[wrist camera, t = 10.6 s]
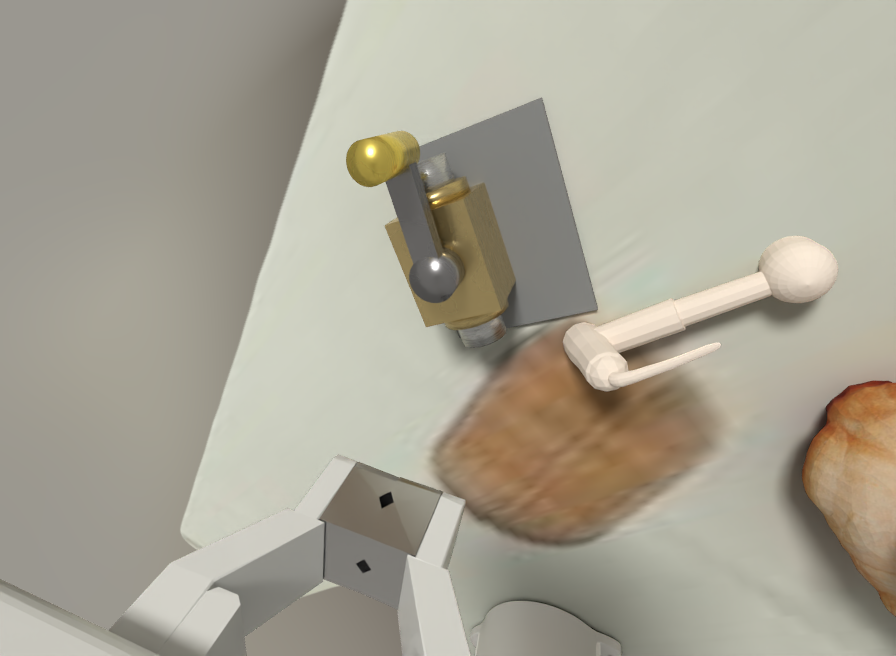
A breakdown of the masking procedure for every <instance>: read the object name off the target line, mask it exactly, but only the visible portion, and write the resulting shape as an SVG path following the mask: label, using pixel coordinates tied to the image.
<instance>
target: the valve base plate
mask: <svg viewBox="0 0 896 656" xmlns="http://www.w3.org/2000/svg"><path fill="white" fill-rule="evenodd" d="M444 152H446V155H447V158H448V161H449V164H450V167H451V170H452V173H453V176H454V178H455V179H456V178H459V177H463V176H466V178H467V181H468V184H469V187H472V186H475V185H478V184H481V183H485V186H486V189H487V192H488V195H489V198H490V201H491V204H492V207H493V210H494V214H495V217H496V220H497V223H498V226H499V229H500V232H501V235H502V238H503V241H504V244H505V247H506V251H507V254H508V257H509V260H510V263H511V266H512V269H513V272H514V275H515V278H516V281H515V283H514V285H513V287H512V289H511V291H510V293H509V295H508V297H507V300H508V303H509V306H508V308H507V309H506V311H505V312H504V313H502V314H501V315H502V318H503V321H504V324H505V326H506V328H510V327H515V326H520V325H525V324H530V323H535V322H540V321H545V320H549V319H554V318H559V317H564V316H569V315H574V314H579V313H584V312H589V311H594V310H598V307H597V303H596V300H595V296H594V292H593V288H592V285H591V281H590V277H589V273H588V269H587V266H586V262H585V258H584V254H583V251H582V247H581V243H580V239H579V235H578V232H577V228H576V224H575V220H574V217H573V213H572V209H571V205H570V202H569V198H568V194H567V190H566V186H565V183H564V179H563V175H562V171H561V168H560V164H559V160H558V156H557V152H556V149H555V145H554V141H553V137H552V134H551V130H550V126H549V122H548V118H547V115H546V111H545V107H544V103H543V100H542V98H539V99H537V100H534V101H532V102H529V103H527V104H524V105H522V106H519V107H517V108H514V109H512V110H509V111H507V112H505V113H502V114H500V115H497V116H495V117H492V118H490V119H487V120H485V121H482V122H480V123H477V124H475V125H472V126H470V127H467V128H465V129H462V130H460V131H457V132H455V133H452V134H450V135H447V136H445V137H442V138H440V139H437V140H435V141H432V142H430V143H427V144H425V145H422V146H420V159H419V162H421V161H423V160H426V159H428V158H431V157H434V156H436V155H439V154H442V153H444ZM457 332H458V335H459V337H460V338H461V336H460V333H459V330H457Z"/></svg>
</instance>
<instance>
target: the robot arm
mask: <svg viewBox="0 0 896 656" xmlns="http://www.w3.org/2000/svg"><path fill="white" fill-rule="evenodd" d="M465 503H466V500H464V499H461V498H458V497H455V496H452V495H450V494H447V493H444V492H442V491H439V490H436V489H434V488H431V487H428V486H425V485H422V484H419V483H416V482H413V481H410V480H407V479H404V478H401V477H400V478H399V477H396V476H394V475H391V474H389V473H386V472H383V471H381V470H378V469H376V468H373V467H371V466H368V465H365V464H363V463H360V462H357V461H355V460H352V459H349V458H346V457H344V456H341V455H337V456H335V457H334V458H333V459H332V460H331V461H330V462H329V464H328V465H327V466H326V468H325V469H324V470H323V472H322V473H321V474H320V476H319V477H318V478H317V480H316V481H315V482H314V484H313V485H312V487H311V488H310V489H309V491H308V492H307V493H306V495H305V496H304V497H303V499H302V500H301V501H300V503H299V504H298V505H297V507H296V508H295V509H294V510H292V509H289V508H287V509H284V510H282V511H280V512H278V513H276V514H274V515H272V516H269V517H267V518H265V519H263V520H261V521H259V522H257V523H255V524H252V525H250V526H248V527H246V528H244V529H242V530H240V531H237V532H235V533H233V534H231V535H229V536H227V537H225V538H222V539H220V540H218V541H216V542H214V543H212V544H210V545H208V546H205V547H203V548H201V549H199V550H197V551H195V552H193V553H191V554H188V555H186V556H184V557H182V558H180V559H178V560H175V561H173V562H171V563H170V564H169V565H168V566H167V567H166V568H165V569H164V570H163V572H162V573H161V574H160V575H159V576H158V577H157V578H156V579H155V580H154V581H153V582H152V584H151V585H150V586H149V587H148V588H147V589H146V590H145V591H144V592H143V593H142V594H141V596H140V597H139V598H138V599H137V600H136V601H135V602H134V603H133V604H132V605H131V607H129V609H128V610H127V611H126V612H125V613H124V614H123V615H122V616H121V617H120V618H119V619H118V620H117V622H116V623H115V624H114V625H113V626H112V627H111V628H110V629H109V630H106V629H104V628H102V627H100V626H98V625H95V624H93V623H91V622H89V621H87V620H85V619H83V618H81V617H79V616H77V615H75V614H73V613H70V612H68V611H66V610H64V609H62V608H60V607H58V606H56V605H54V604H51V603H50V602H47V601H45V600H43V599H41V598H39V597H37V596H35V595H33V594H31V593H29V592H26V591H24V590H22V589H20V588H18V587H16V586H14V585H12V584H10V583H8V582H6V581H4V580H2V579H0V656H247V655H246V647H245V638H244V637H245V636H247V635H248V634H249V633H251V632H252V631H254V630H255V629H257V628H258V627H259V626H261V625H262V624H264V623H265V622H266V621H268V620H269V619H271V618H272V617H274V616H275V615H276V614H278V613H279V612H281V611H282V610H283V609H285V608H286V607H288V606H289V605H291V604H292V603H293V602H295V601H296V600H297V599H299V598H300V597H302V596H303V595H305V594H306V593H307V592H309V591H310V590H312V589H313V588H315V587H316V586H317V585H319V584H320V583H322V582H323V579H324V580H327V581H330V582H332V583H335V584H338V585H340V586H343V587H346V588H348V589H351V590H354V591H357V592H359V593H361V594H364V595H366V596H368V597H370V598H373V599H375V600H377V601H379V602H382V603H384V604H386V605H388V606H390V607H393V608H395V609H397V610H398V619H399V628H400V637H401V646H402V655H403V656H471V654H470V650H469V647H468V643H467V639H466V635H465V631H464V627H463V623H462V619H461V615H460V611H459V607H458V603H457V599H456V595H455V591H454V587H453V583H452V579H451V575H450V571H449V570H447V569H448V566H449V563H450V560H451V556H452V553H453V549H454V546H455V542H456V539H457V535H458V531H459V527H460V523H461V519H462V515H463V511H464V508H465ZM470 641H471V643H472V644H473V645H474V646H475V648H476V652H475V656H622V648H621V644H620V643H619V642H618V641H616V640H615V639H613V638H611V637H609V636H606V635H604V634H601V633H599V632H596V631H595V630H593V629H592V628H590V627H589V626H587V625H586V624H585V623H584V622H582V621H581V620H579V619H578V618H576V617H575V616H573V615H571V614H569V613H567V612H565V611H563V610H561V609H558V608H556V607H553V606H550V605H546V604H543V603H538V602H531V601H511V602H505V603H502V604H499V605H497V606H495V607H493V608H492V609H491V610H490V611H489V612H488V613H487V615H486V617H485V619H484V621H483V622H482V624H479V625H477V626H475V627H474V628H473V629H472V630H471V633H470Z"/></svg>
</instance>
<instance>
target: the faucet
mask: <svg viewBox="0 0 896 656" xmlns="http://www.w3.org/2000/svg"><path fill="white" fill-rule="evenodd" d="M759 271H760V272H757V273H754V274H751V275H748V276H745V277H742V278H739V279H736V280H733V281H730V282H727V283H724V284H722V285H719V286H716V287H713V288H710V289H707V290H704V291H701V292H698V293H695V294H692V295H689V296H686V297H683V298H680V299H677V300H673V298H671V299H668V300H666V301H663V302H660V303H658V304H655V305H652V306H650V307H647V308H645V309H642V310H639V311H637V312H634V313H631V314H629V315H626V316H624V317H621V318H618V319H616V320H613V321H611V322H608V323H605V324H603V325H600V326H597V327H596V325H594V324H591V323H586V322H583V323H579V324H575V325H573V326H572V327H571V328H570V329H569V330H568V331H567V332H566V334H565V337H564V340H563V344H564V349H565V352H566V353H567V355H568V356H569V358H570V360H571V361H572V362H573V363H574V364H575V365H576V366H577V367H578V368H579V369H580V371H581V372H582V374H583V375H584V377H585V378H586V380H587V381H588V382H589V383H590V384H591V385H592V386H593V387H594V388H595V389H598V390H602V391H606V392H607V391H612V390H616V389H618V388H620V387H623V386H626V385H630V384H633V383H636V382H638V381H641V380H644V379H646V378H649V377H652V376H654V375H657V374H660V373H662V372H665V371H668V370H670V369H673V368H675V367H678V366H680V365H683V364H685V363H688V362H690V361H692V360H695V359H697V358H700V357H702V356H704V355H707V354H709V353H712V352H714V351H716V350H717V349H719V348H720V347H721V344H720V343H713V344H709V345H706V346H703V347H700V348H698V349H695V350H692V351H690V352H687V353H684V354H682V355H679V356H676V357H674V358H671V359H668V360H665V361H662V362H659V363H656V364H652V365H649V366H646V367H643V368H639V369H636V370H632V371H628V366H627V361H626V360H625V359H624V358H623V357H622V356H621V355H620V354H619V353H620V352H623V351H626V350H629V349H632V348H635V347H638V346H641V345H644V344H646V343H649V342H652V341H655V340H658V339H661V338H664V337H667V336H670V335H673V334H676V333H679V332H681V331H684V330H685V327H686V326H689V325H691V324H694V323H697V322H700V321H703V320H705V319H708V318H711V317H714V316H716V315H719V314H722V313H725V312H728V311H730V310H733V309H736V308H739V307H741V306H744V305H747V304H750V303H752V302H755V301H758V300H761V299H764V298H766V297H769V296H774V297H775V298H777V299H779V300H781V301H784V302H789V303H805V302H810V301H813V300H815V299H818V298H820V297H821V296H823V295H824V294H826V293H827V292H828V291H829V290H830V289H831V288H832V286H833V285H834V283H835V281H836V279H837V274H838V264H837V261H836V259H835V258H834V256H833V254H832V252H831V251H829V250H828V249H827V248H826V247H824V246H822V245H820V244H818V243H816V242H815V241H813V240H812V239H809V238H807V237H803V236H788V237H785V238H781V239H779V240H777V241H775V242H773V243H772V244H771V245H770V246H768V247H767V248H766V250H765V251H764V252H763V253H762V255H761V258H760V260H759Z"/></svg>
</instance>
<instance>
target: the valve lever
mask: <svg viewBox="0 0 896 656" xmlns="http://www.w3.org/2000/svg"><path fill="white" fill-rule="evenodd" d="M419 159H420V147H419V144H418V142H417V140H416V139H415V138H414V137H413V136H412V135H411V134H410V133H408V132H405V131H396V132H392V133H388V134H384V135H379V136H375V137H371V138H367V139H362V140H359V141H356V142H355V143H353V144H352V145H351V147H350V148H349V150H348V152H347V157H346V164H347V168H348V171H349V173H350V175H351V177H352V178H353V179H354V180H355V181H356V182H357V183H359V184H360V185H362V186H366V187H373V186H377V185H379V184H381V183H383V182H386V184H387V187H388V190H389V193H390V196H391V199H392V202H393V205H394V208H395V211H396V214H397V217H398V220H399V223H400V226H401V229H402V232H403V235H404V238H405V241H406V244H407V247H408V250H409V253H410V256H411V258H412V261H413V266H412V267H411V269H410V273H409V281H410V285H411V288H412V289H413V291H414V292H415V294H416V295H417V296H418V297H420V298H421V299H423V300H424V301H427V302H430V303H441V302H444V301H446V300H447V299H449V298H450V297H451V296H452V294H453V293H454V292H455V290H456V289H457V288H458V286H459V285H460V283H461V282H462V280H463V278H464V274H465V269H464V264H463V262H462V260H461V258H460V257H459V255H458V254H457V253H455V252H454V251H453V250H451V249H449V248H446V247H442V244H441V241H440V238H439V235H438V231H437V228H436V225H435V222H434V218H433V215H432V212H431V209H430V205H429V202H428V199H427V196H426V192H425V189H424V186H423V183H422V179H421V176H420V173H419V170H418V167H417V164H418V162H419Z"/></svg>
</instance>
